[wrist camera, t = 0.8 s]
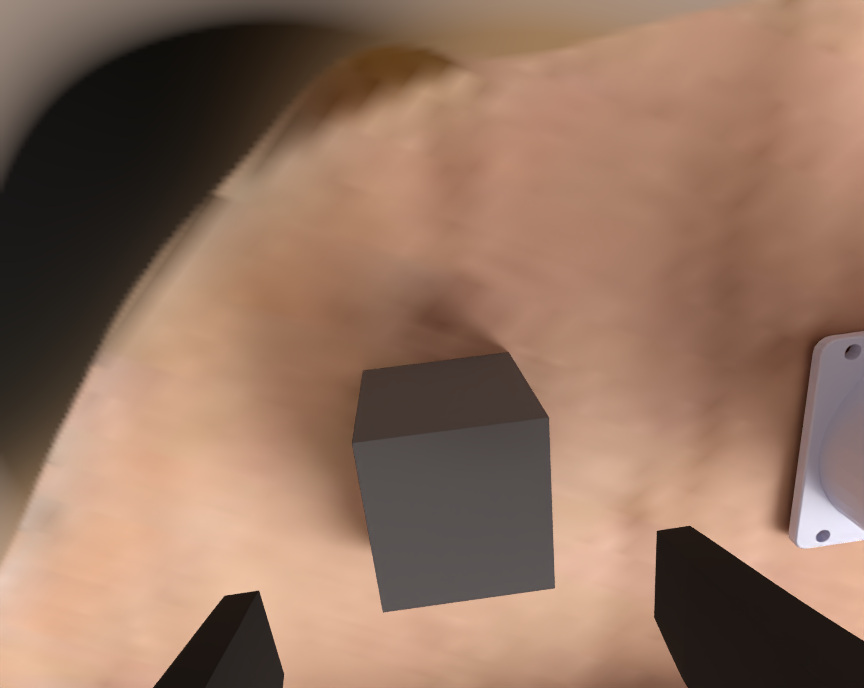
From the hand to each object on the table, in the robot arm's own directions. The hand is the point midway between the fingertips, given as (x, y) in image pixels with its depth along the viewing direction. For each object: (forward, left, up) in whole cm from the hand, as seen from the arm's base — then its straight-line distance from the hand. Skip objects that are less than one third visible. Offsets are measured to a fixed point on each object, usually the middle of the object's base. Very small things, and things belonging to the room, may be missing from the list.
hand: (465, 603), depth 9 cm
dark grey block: (0, +2, -8) cm, 8 cm away
